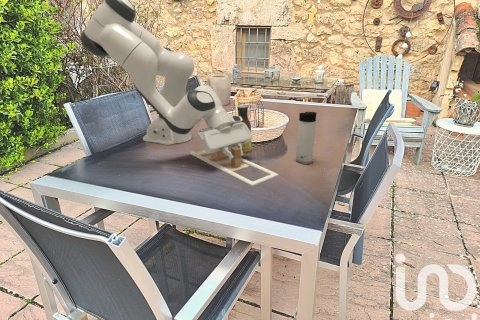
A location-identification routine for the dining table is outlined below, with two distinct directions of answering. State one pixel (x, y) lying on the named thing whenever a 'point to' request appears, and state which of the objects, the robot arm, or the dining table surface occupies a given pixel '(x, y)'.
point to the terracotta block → (218, 155)
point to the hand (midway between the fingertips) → (237, 157)
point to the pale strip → (226, 159)
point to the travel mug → (306, 137)
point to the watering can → (221, 87)
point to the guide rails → (272, 174)
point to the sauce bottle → (243, 113)
